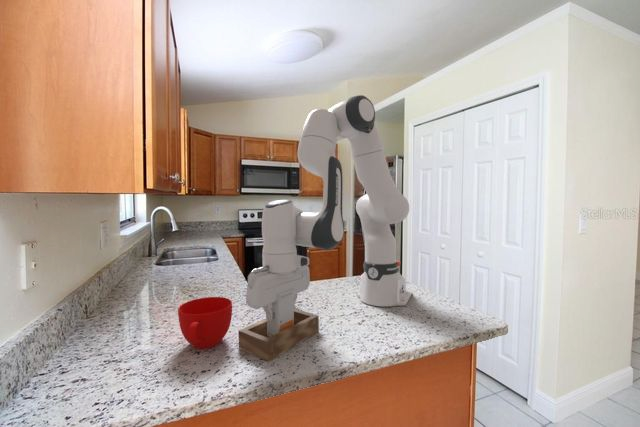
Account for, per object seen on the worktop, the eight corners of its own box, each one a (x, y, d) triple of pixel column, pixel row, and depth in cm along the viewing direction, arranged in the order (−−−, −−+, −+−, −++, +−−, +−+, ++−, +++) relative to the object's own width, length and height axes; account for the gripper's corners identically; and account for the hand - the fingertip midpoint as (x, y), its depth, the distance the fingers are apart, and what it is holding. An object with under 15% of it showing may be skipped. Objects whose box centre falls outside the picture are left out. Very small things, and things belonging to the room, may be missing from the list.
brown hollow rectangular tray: (290, 322, 89) (290, 307, 89) (318, 331, 83) (318, 315, 83) (238, 348, 74) (238, 330, 74) (268, 361, 68) (268, 342, 68)
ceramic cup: (162, 366, 66) (160, 322, 66) (190, 333, 83) (189, 297, 83) (222, 364, 67) (221, 320, 67) (237, 331, 84) (236, 295, 84)
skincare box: (278, 341, 75) (279, 295, 74) (266, 335, 78) (266, 291, 77) (294, 331, 80) (295, 288, 79) (282, 327, 83) (283, 285, 81)
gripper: (257, 272, 68) (258, 332, 68) (313, 257, 84) (313, 305, 85) (239, 268, 71) (241, 325, 72) (296, 255, 88) (297, 301, 88)
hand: (280, 314), depth 78 cm, fingers closed on skincare box, 6 cm apart
